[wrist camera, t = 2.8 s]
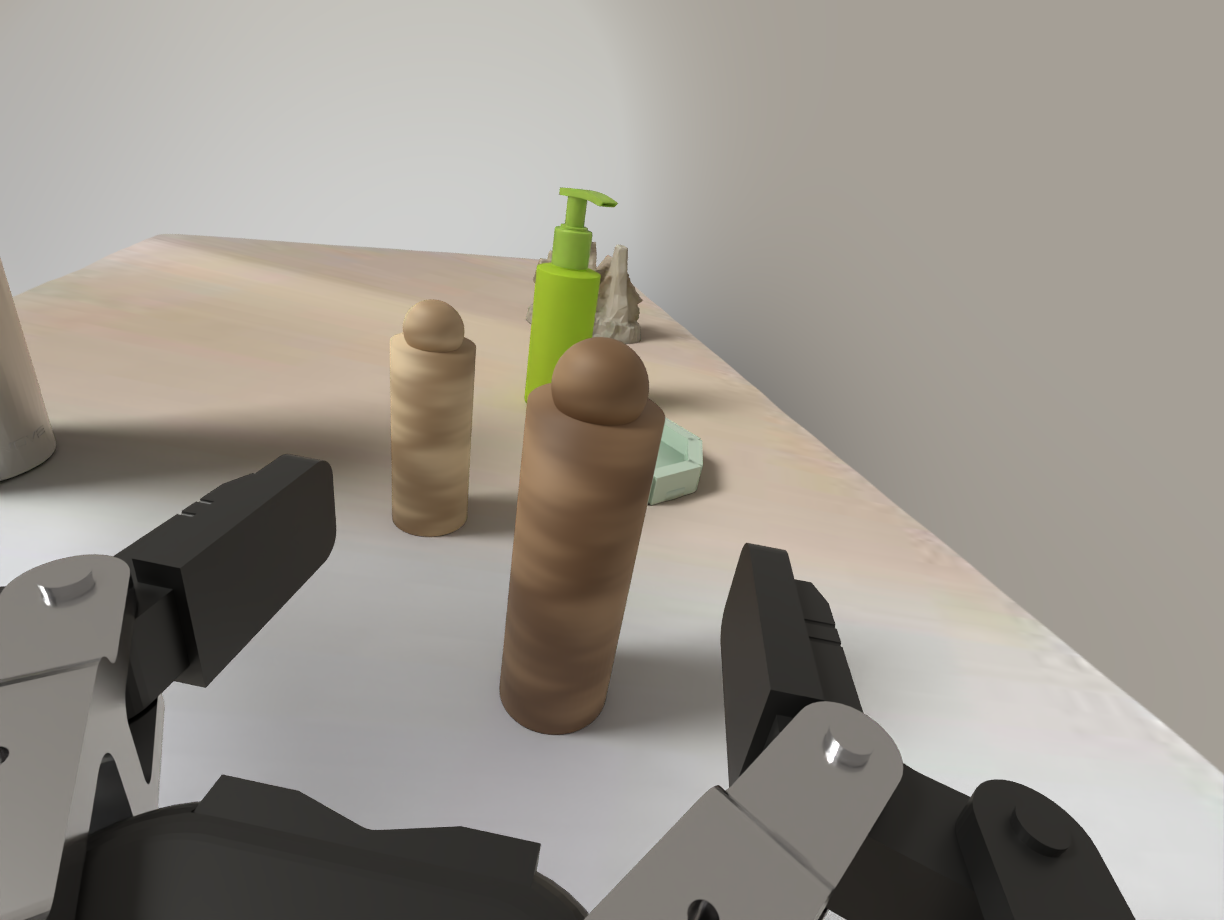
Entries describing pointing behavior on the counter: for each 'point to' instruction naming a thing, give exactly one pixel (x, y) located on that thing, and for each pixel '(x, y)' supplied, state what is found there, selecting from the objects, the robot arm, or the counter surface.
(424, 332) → the salt mill
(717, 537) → the counter surface
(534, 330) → the soap dispenser
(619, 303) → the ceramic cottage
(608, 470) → the pepper mill
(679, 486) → the dish
